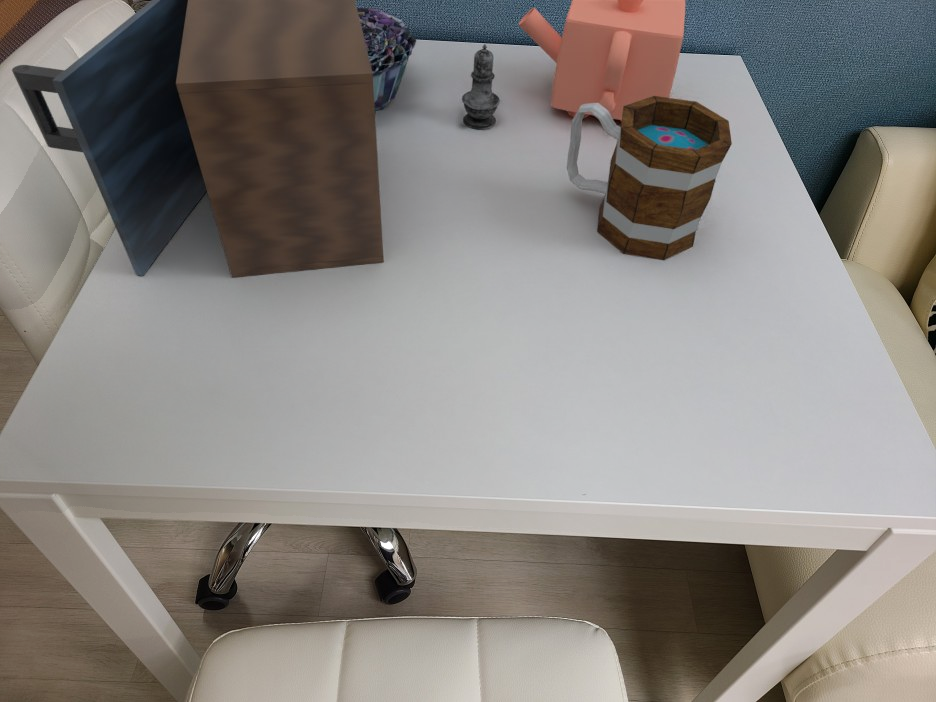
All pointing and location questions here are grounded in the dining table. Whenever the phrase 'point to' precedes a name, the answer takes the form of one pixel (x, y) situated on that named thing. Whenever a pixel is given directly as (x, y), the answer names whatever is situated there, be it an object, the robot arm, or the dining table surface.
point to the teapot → (611, 51)
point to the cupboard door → (128, 126)
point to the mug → (655, 173)
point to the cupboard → (284, 131)
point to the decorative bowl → (385, 52)
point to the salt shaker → (481, 93)
